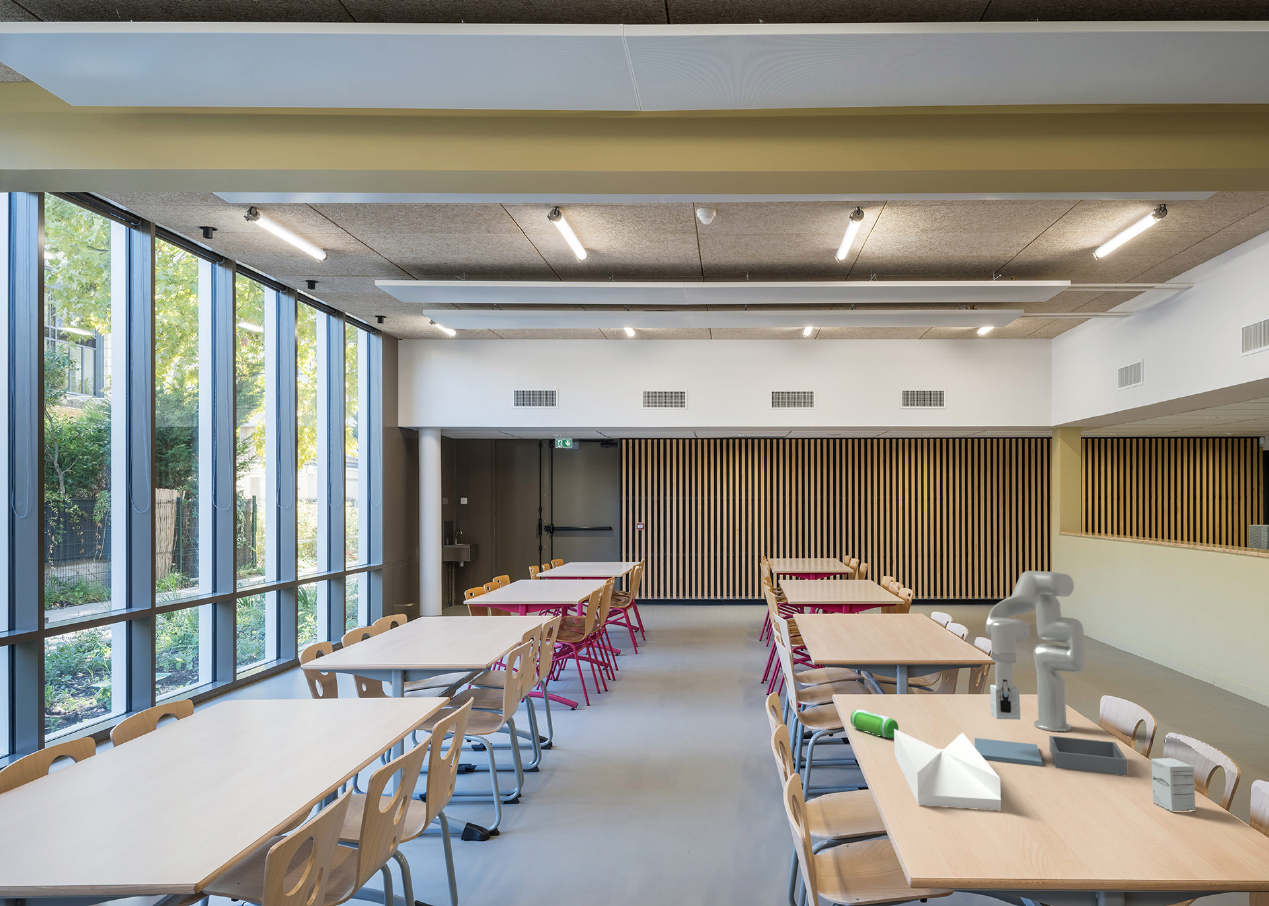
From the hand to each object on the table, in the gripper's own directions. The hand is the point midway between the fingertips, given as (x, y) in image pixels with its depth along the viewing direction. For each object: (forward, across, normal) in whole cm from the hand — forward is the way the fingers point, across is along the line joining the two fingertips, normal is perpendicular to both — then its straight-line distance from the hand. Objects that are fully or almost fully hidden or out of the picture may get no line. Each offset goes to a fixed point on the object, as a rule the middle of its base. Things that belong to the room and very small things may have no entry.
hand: (1005, 709), depth 268 cm
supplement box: (+15, +35, +41) cm, 56 cm away
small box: (+3, 0, 0) cm, 3 cm away
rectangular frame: (+15, 0, +24) cm, 28 cm away
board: (+15, 0, 0) cm, 15 cm away
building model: (+16, +37, -20) cm, 45 cm away
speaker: (+15, -8, -45) cm, 48 cm away
